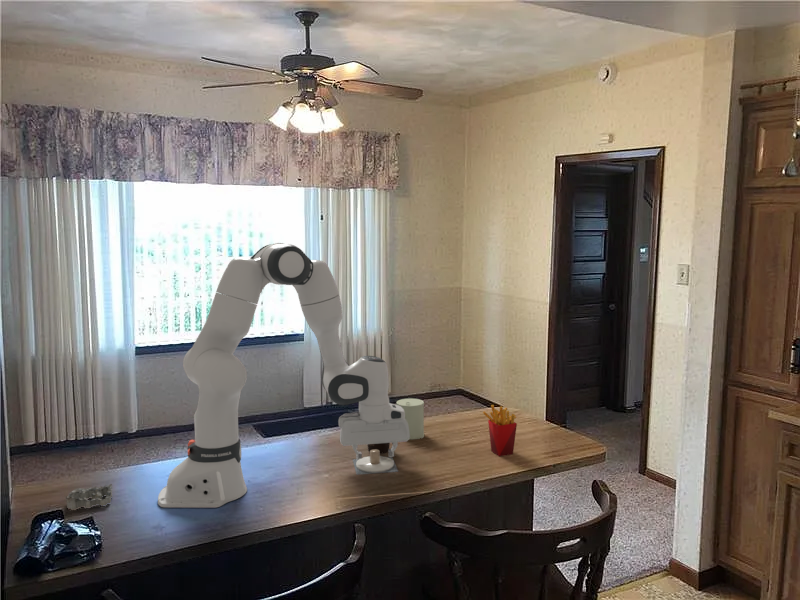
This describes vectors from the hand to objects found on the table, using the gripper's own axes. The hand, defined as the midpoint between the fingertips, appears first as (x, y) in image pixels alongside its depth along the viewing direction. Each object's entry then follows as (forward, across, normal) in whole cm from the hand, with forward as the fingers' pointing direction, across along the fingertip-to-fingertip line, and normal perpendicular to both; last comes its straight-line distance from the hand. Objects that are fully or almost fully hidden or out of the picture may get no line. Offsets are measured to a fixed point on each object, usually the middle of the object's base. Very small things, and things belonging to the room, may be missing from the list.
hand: (375, 457), depth 196 cm
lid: (+2, 0, 0) cm, 2 cm away
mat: (+3, 0, 0) cm, 3 cm away
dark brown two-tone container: (+3, +3, +14) cm, 14 cm away
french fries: (+3, +39, +3) cm, 39 cm away
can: (+3, +15, +25) cm, 29 cm away
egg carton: (+3, -76, -11) cm, 76 cm away
